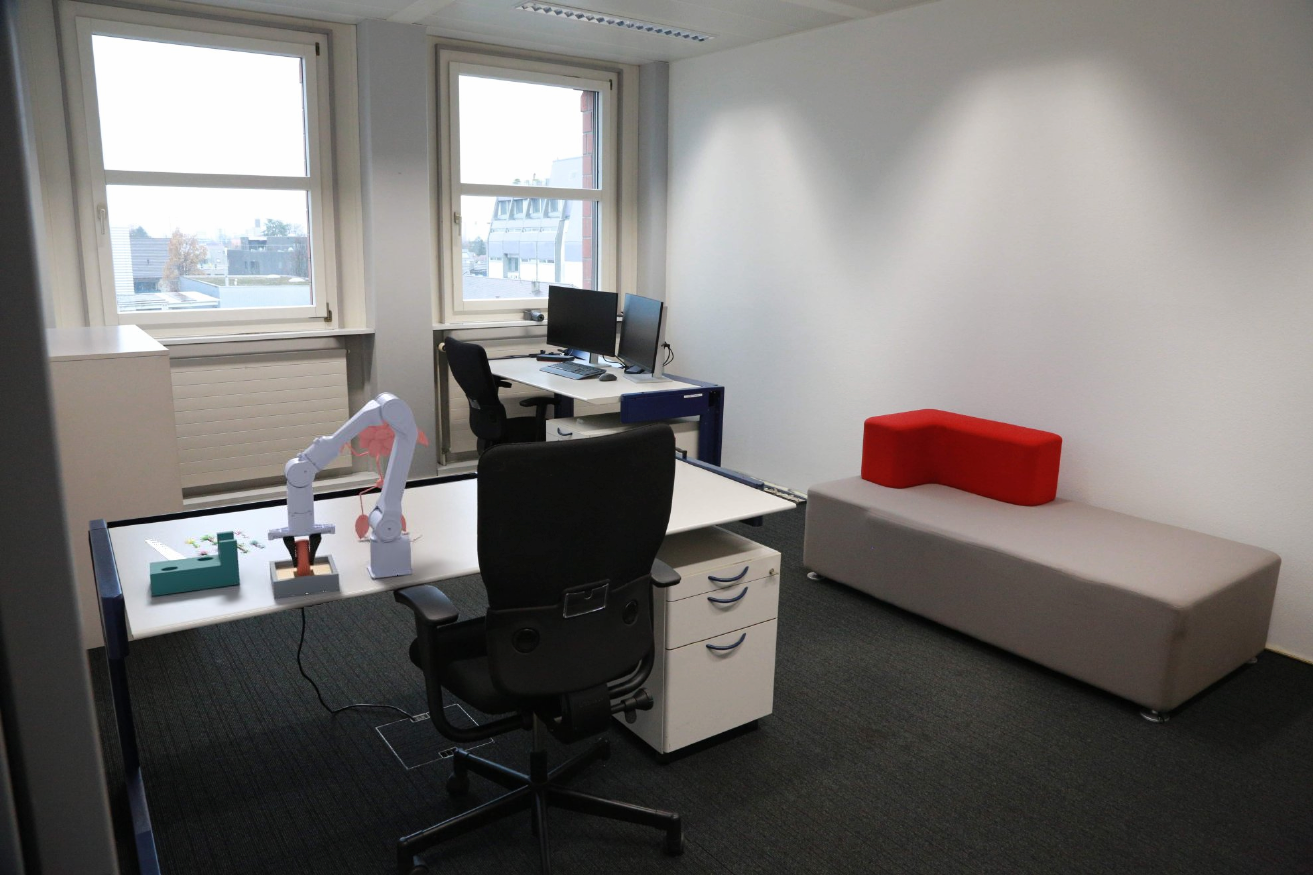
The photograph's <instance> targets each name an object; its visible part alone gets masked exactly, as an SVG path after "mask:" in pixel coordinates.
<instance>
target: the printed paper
mask: <svg viewBox="0 0 1313 875" xmlns="http://www.w3.org/2000/svg"><path fill="white" fill-rule="evenodd" d="M236 532H237V533H238V534H237V533H236ZM236 532H234V534H236V535H240V534H241V535H242V538H244V539H246V538H247V539H248V538H249V536H246V537H245V536H244V535H245V534H244V532H246V530H244V531H236ZM243 534H244V535H243ZM215 537H216V538H217V535H214V534H213V535H212V534H211V535H209V534H206V535H204V536H202V537H198V538H199V539H200V540H209V541H210V542H211V543H210V545H217V541H215V540H214V539H212V538H215ZM150 540H151V539H147V540H145V542H147V544H149V545H150V546H151V547H152V548H153V549H155V550H156V551H157V552H158V553H160V554H161V555H162V556H163V557H164V558H165V559H167V561H169V560H177V559H185V558H187V557H186V556H184V555H182V554H181V553H179V552H177V551H175V550H173V549H171V548H170V547H168V546H167V545H164V544H163V545H160V544H162V543H161V542H159V541H158V542H159V543H158V542H157V540H156V541H150ZM153 540H155V539H153ZM152 542H157V543H152ZM183 542H186V543H185V544H192V545H193V546H194V548H199V547H201V545H198V544H196V540H193V539H192V538H191V539H189V540H186V541H183ZM258 542H259V540H252V541H250V542H249V544H251V545H252V544H254V545H255V546H258V547H259V548H263V547H266V545H265V544H258ZM154 544H155V545H154ZM156 544H157V545H156ZM162 546H163V547H162ZM164 546H165V547H164ZM242 546H245V543H243V542H241V543H238V542H237V548H238V549H241V550H242V551H241V553H247V552H249V553H250V552H251V550H249V549H245V548H244V547H242ZM165 548H166V549H165ZM212 550H214V551H215V553H216V552H217V553H218V550H215V549H213V548H212ZM208 552H209V550H208V551H206V550H201V551H200V552H197V554H198V555H206V556H210V555H209V553H208Z"/></svg>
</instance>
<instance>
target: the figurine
mask: <svg viewBox="0 0 1313 875" xmlns="http://www.w3.org/2000/svg"><path fill="white" fill-rule="evenodd" d="M382 423H383V425H378V426H368V427H367V428H365V429H364V430H363V431H361V432H360V433H359V434H357V437H358V438H359V439H360V441H359V443H358V446H359V449H360V450H365V449H367V448H368V451H366V452H363V453H361V454H358V453H357V452H356V451H355V449H354V448H353V447H352V446H351V445H350V444H349V443H348V442H347V443H345V444H344V445H343V446H342V447H341V450H340V455H341V454H342V452H343V450H344V448H345V445H346V446H347V447H348V448H349V450H350V451H351V452H352V453H353V454H354V455H355V456H356V457H357V458H361V457H363V456H366V455H369V456H370V457H371V458H376V460H375V463H376V467H377V470H378V474H379V477H380V478H379V479H377V480H376V484H375V486H372V487H370V488H368V489H365V490H364V491H361V492H360V493H359V501H360V508H361V514H360V515H359V516H358V517H357V519H356V521H355V524H354V528H355V529H354V530H355V533H356V535H357V536H358V538H359V539H360V540H361V539H363V538H364V536H366V535H367V533H368V531H369V529H370V528H371V527H370V525H369V523H368V516H369V515H367V514H365V513H364V507H363V506H364V505H363V498H362V494H364V493H366V492H368V491H370V490H373V489H375V488H378V489H382V487H383V483H384V479H385V478H383V476H382V472H381V468H380V464H379V461H380V460H379V459H380V455H381V456H383V457H388V456H390V455H391V451H392V447H393V443H394V439H395V433H394V431H393V430H392V429H391V427H390V426H389V425H388V423H387V422H386V421H385V420H382ZM417 429H418V437H417V441H416V442H418V443H419V444H422V445H424V446H427V447H429V440H428V437H427V436H426V435H425V433H424V432H423V431H422V430H421V429H420V428H419V427H417ZM401 523H402V531H403V532H404V533H406V532H407V521H406V518H405V516H404V515H403V514H402V516H401ZM420 536H421V537H422V534H421V535H420ZM420 536H418V537H417V538H415V539H413V542H415V541H417V539H419V538H420ZM411 542H412V540H410V543H411Z"/></svg>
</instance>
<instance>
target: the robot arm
mask: <svg viewBox="0 0 1313 875" xmlns="http://www.w3.org/2000/svg"><path fill="white" fill-rule="evenodd" d="M382 420H385V421H386V422H387V423H388V425H389V426H390V427H391V429H392V430H393V431H394V433H395V439H394V443H393V447H392V451H390V454H389V460H388V464H387V468H386V472H385V475H384V478H383V479H384V483H383V487H382V488H381V492H380V496H379V497H378V498H377V499H376V502H375V505H374V506H373V508H372V510H371V511H370V512H369V513H368V515H367V516H368V523H369V525H370V527H369V528H371V529H372V531H371V533H370V535H369V546H370V547H369V550H370V552H369V554H370V565H367V568H366V569H367V571H368V573H369V574H370V577H371V579H372V580H373V579H381V578H390V577H396V576H397V575H398V576H405V575H406V576H407V575H411V574H413V572H412V547H411V546H412V545H411V542H410V541H411V540H410V537H409V536H410V535H408V534H402V523H401V516H402V515H403V510H402V509H403V508H402V501H403V496H404V492H405V488H406V483H407V481H408V476H409V474H410V473H409V472H410V468H411V464H412V461H413V457H414V453H415V448H416V445H417V442H418V441H417V437H418V429H419V428H418V427H417V424H416V421H415V417H414V415H413V409H411V407H410V406H409V405H408V404H407V402H405V401H404V400H403V399H401V398H399V397H398V396H397V395H396V394H394V393H392V392H389V391H388V392H387V391H386V392H382V393H380V394H378V395H377V396H376V397H375V399H371V400H370V401H368V402H367V403H366V404H365V405H364V406H363V407H362V408H360V410H359V411H358V412H357V413H355V414H354V415H353V416H352V417H351V418H350V419H349V420H348V421H346V423H344V424H343V425H342V426H341V427H340V428H338V430H336V431H335V432H333V434H332V435H330V436H327V435H324V436H321V437H320V438H319V437H315V438H314V439H313V440H312V442H313V443H312V444H311V445H310V446H309V447H307V449H305V450H304V451H303V452H298V453H297V454H296V458H295V457H294V458H291V459H290V460H288V461H287V463H286V464H285V467H284V469H283V475H284V476H285V478H286V479H287V480H286V489H287V490H286V505H287V506H286V507H287V508H286V509H287V524H288V526H284V527H278V528H275V529H267V538H268V539H267V540H268V541H274V540H278V539H279V540H280V539H282V541H283V544H284V546H285V547H286V549H287V551H288V553H289V555H290V557H291V558H290V559H292V561H293V567H294V568H297V561H296V544H295V541H296V539H295V538H297V537H298V538H299V537H307V536H308V540H309V551H310V566H314V558H315V556H317V555H316V553H317V552H318V549H319V546H320V544H321V543H322V539H323V537H322V535H328V534H329V535H334V534H336V526H335V523H327V524H326V523H323V524H321V523H315V508H314V507H315V504H314V503H315V502H314V501H315V500H314V489H313V482H314V480H315V478H316V474H317V473H320V472H321V471H322V470H323V469H325V468H326V467H327V466H328V465H329V464H330V463H332V462H333V461H334V460H335V459H337V458H338V457H339V456H340V455H341V454H340V450H341V447H342V446H343V445H344V444H345V443H348V442H350V441H351V440H352V439H353V438H355V437H356V436H358V434H359V433H360V432H361V431H363V430H364V429H365V428H367V427H368V426H378V425H383V423H382ZM417 428H418V429H417ZM345 445H346V444H345ZM345 445H344V446H345ZM398 576H397V577H398Z"/></svg>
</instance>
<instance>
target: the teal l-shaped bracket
mask: <svg viewBox="0 0 1313 875" xmlns="http://www.w3.org/2000/svg"><path fill="white" fill-rule="evenodd" d="M234 533H235V531H234V530H229V531H221V532H220V531H218V532H216V536H217V537H216V542H217V544H216V546H217V551H218V552H217V554H212V555H211V554H210V555H209V556H207V555H203V556H194V557H186V558H185V559H177V560H162V561H154V562H149V579H150V582H149V583H150V591H151V597H153V596H162V595H168V594H169V595H171V594H175V593H176V594H177V593H178V594H179V593H183V592H192V591H198V590H199V591H200V590H206V589H213V588H220V587H227V586H234V585H240V584H241V579H240V564H239V555H238V554H239V553H238V547H237V543H238V540H237V539H236V538H235V535H234Z"/></svg>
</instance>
